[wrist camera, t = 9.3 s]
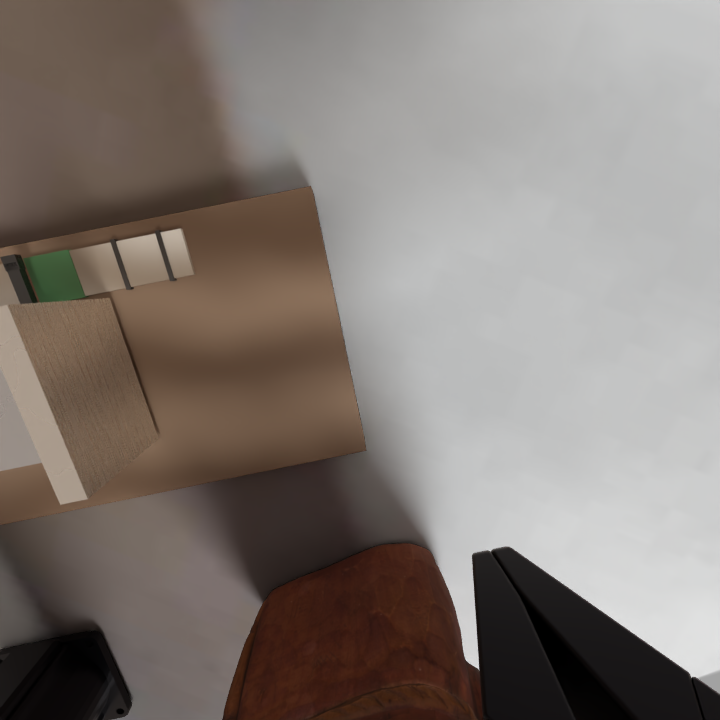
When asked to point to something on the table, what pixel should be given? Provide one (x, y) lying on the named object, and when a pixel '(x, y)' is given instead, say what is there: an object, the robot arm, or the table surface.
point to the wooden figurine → (358, 646)
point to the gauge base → (207, 343)
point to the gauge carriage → (67, 391)
